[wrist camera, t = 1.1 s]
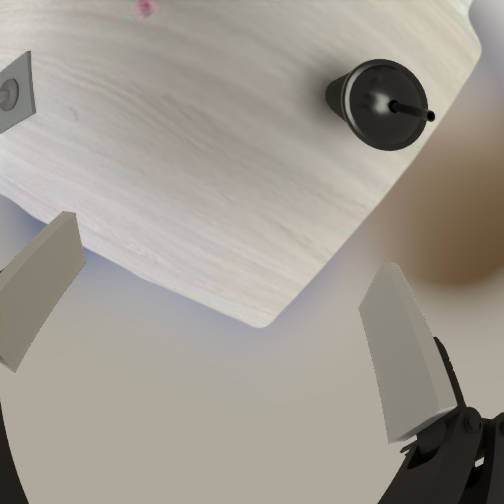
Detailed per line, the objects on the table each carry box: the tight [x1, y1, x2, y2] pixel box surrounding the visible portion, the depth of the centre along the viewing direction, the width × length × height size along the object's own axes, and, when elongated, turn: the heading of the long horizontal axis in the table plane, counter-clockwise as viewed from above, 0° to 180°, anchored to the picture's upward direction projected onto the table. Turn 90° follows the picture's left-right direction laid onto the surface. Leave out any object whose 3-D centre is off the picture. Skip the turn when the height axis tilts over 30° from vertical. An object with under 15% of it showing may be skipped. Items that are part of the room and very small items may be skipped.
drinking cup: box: [326, 59, 435, 151], centre depth 20 cm, size 8×8×20 cm
